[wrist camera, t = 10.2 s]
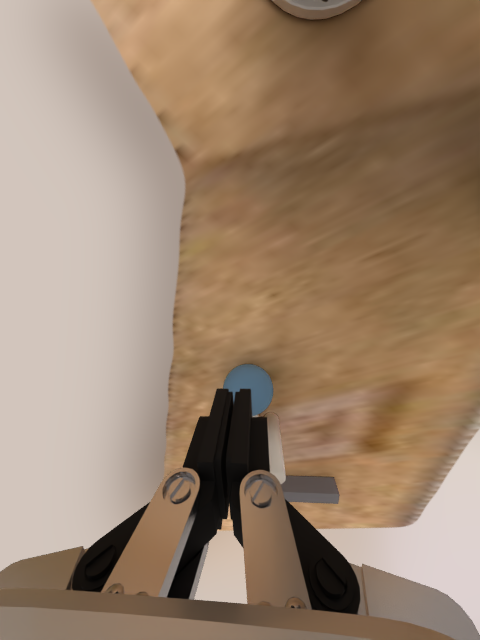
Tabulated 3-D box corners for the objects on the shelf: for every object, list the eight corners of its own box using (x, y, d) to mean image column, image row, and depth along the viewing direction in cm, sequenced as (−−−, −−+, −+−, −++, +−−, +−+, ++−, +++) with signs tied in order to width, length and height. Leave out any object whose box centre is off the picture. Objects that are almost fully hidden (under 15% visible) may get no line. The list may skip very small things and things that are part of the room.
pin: (263, 412, 32) (264, 469, 24) (278, 412, 32) (285, 470, 24) (263, 425, 33) (265, 484, 25) (278, 425, 33) (285, 485, 25)
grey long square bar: (182, 472, 37) (176, 487, 35) (333, 477, 35) (339, 494, 33) (183, 481, 38) (178, 497, 35) (332, 486, 36) (338, 503, 33)
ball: (223, 421, 28) (229, 376, 32) (272, 425, 27) (272, 378, 31) (215, 403, 24) (223, 353, 27) (274, 407, 23) (274, 355, 27)
